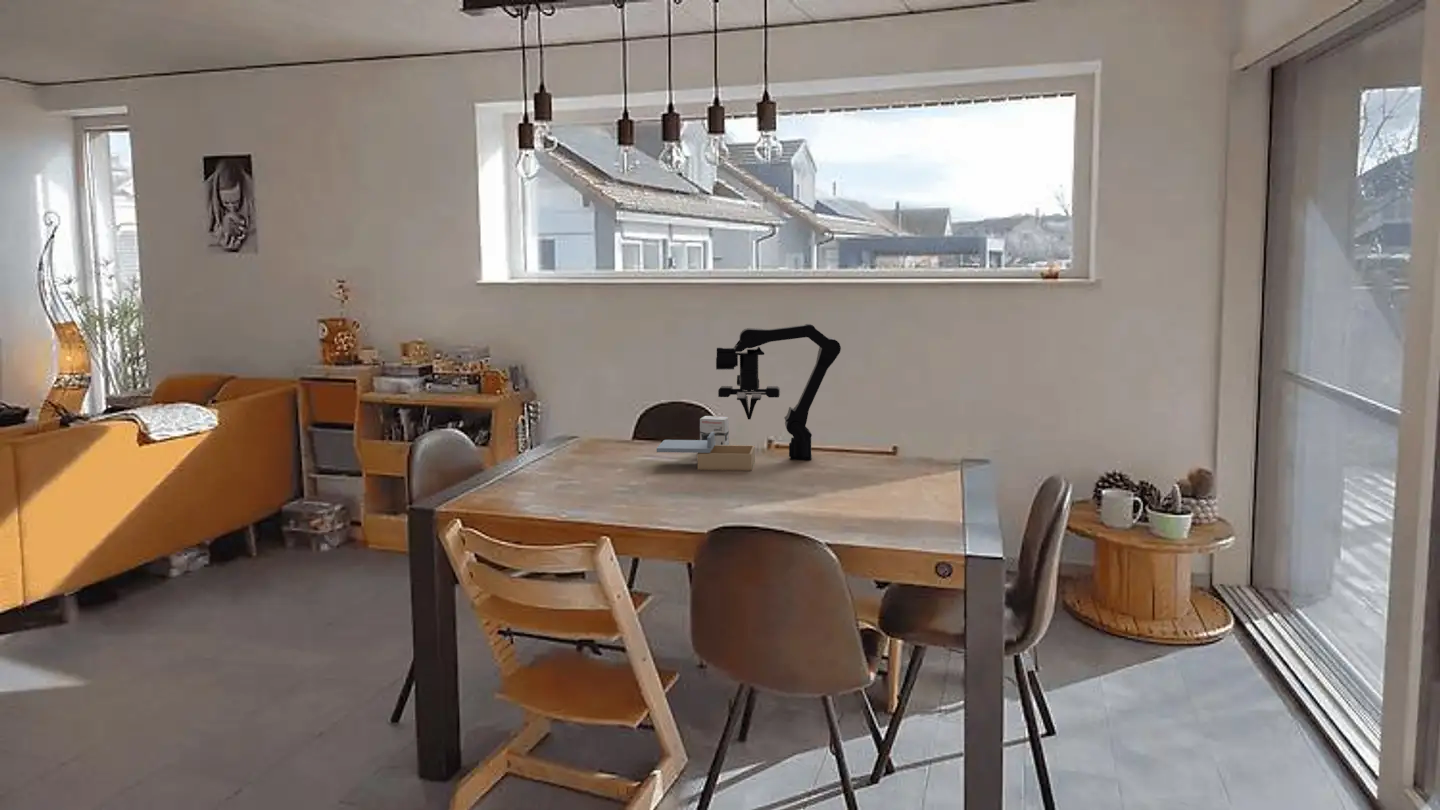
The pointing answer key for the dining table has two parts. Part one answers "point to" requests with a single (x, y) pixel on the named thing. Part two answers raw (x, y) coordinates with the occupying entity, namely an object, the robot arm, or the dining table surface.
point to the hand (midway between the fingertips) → (749, 419)
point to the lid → (688, 445)
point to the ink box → (715, 429)
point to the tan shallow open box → (728, 458)
